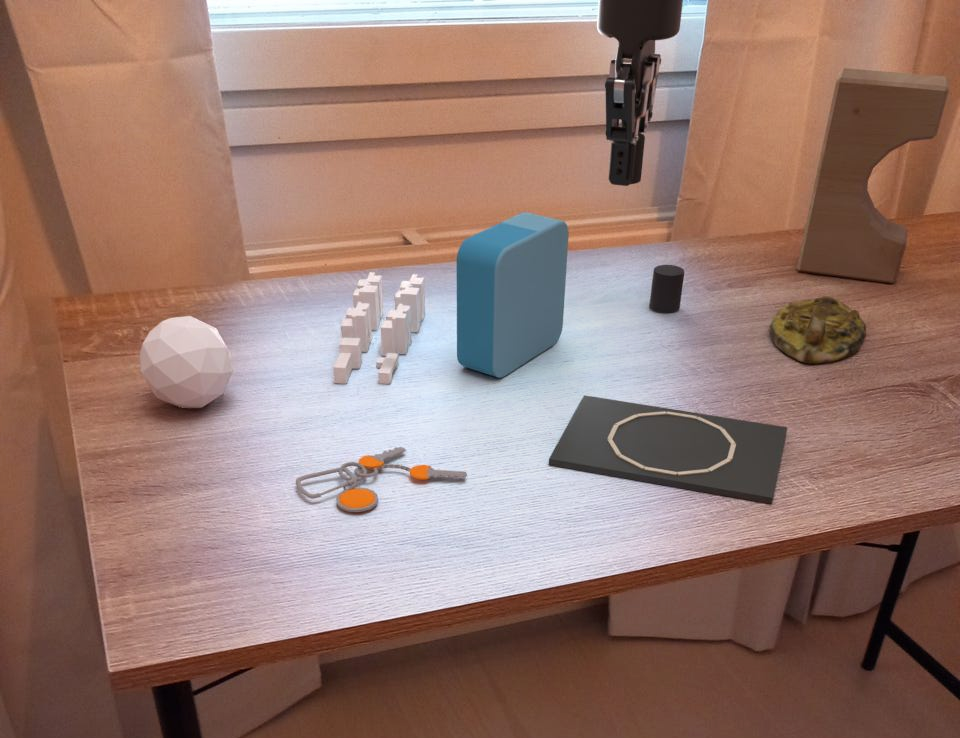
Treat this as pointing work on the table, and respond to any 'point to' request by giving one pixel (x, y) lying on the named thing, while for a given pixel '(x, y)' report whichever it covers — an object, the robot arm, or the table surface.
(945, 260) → the table surface
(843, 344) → the olive lumpy oval slab
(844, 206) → the decorative block
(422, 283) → the modular blocks
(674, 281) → the eye peg
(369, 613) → the table surface
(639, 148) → the eye peg
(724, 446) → the slate board
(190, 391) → the geometric ball
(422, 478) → the key chain
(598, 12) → the robot arm
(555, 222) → the blue rounded slab
